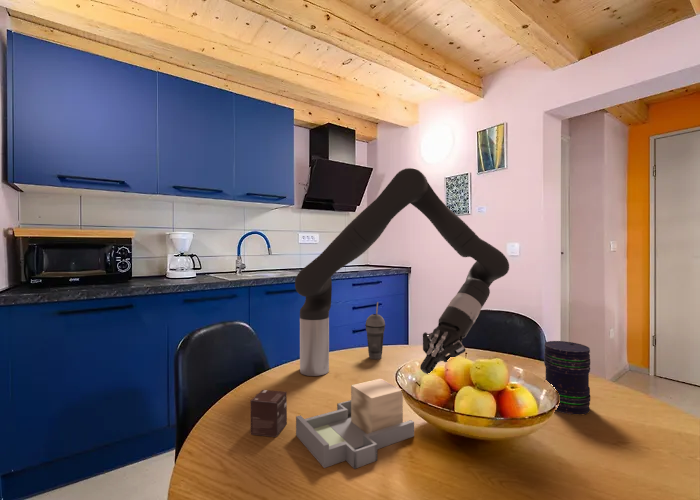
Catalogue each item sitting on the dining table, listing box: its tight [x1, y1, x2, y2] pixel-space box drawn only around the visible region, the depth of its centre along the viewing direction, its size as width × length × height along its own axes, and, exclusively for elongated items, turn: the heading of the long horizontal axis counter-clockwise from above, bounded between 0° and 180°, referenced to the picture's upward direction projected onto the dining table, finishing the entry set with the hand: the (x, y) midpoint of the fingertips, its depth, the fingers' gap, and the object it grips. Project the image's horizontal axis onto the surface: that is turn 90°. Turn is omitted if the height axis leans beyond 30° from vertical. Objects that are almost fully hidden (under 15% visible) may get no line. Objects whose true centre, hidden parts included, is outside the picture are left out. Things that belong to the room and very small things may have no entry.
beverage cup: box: [364, 301, 386, 360], centre depth 129 cm, size 7×7×20 cm
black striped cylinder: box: [543, 340, 591, 415], centre depth 89 cm, size 10×10×15 cm
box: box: [250, 389, 288, 438], centre depth 78 cm, size 6×6×7 cm
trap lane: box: [295, 399, 415, 470], centre depth 75 cm, size 19×21×4 cm
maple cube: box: [350, 378, 404, 434], centre depth 78 cm, size 8×8×8 cm
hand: (424, 371), depth 85 cm, fingers closed
